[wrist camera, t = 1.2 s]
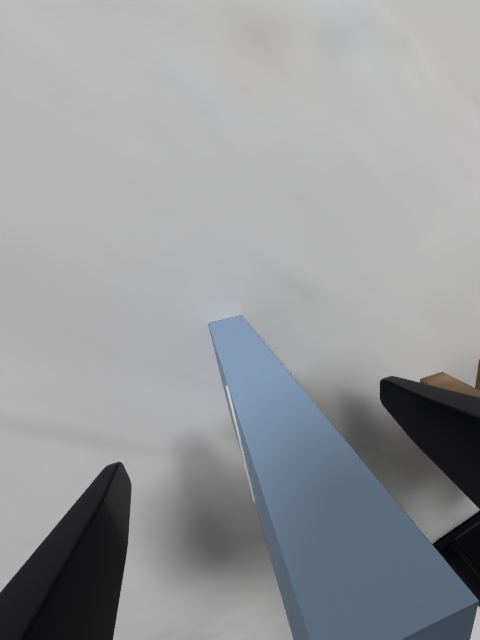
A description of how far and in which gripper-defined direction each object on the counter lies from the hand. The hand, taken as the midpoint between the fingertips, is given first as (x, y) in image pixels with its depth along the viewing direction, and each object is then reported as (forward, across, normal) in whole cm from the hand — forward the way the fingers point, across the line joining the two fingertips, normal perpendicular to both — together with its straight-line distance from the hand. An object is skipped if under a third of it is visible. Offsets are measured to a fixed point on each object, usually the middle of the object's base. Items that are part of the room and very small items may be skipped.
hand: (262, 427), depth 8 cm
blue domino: (+4, 0, 0) cm, 4 cm away
